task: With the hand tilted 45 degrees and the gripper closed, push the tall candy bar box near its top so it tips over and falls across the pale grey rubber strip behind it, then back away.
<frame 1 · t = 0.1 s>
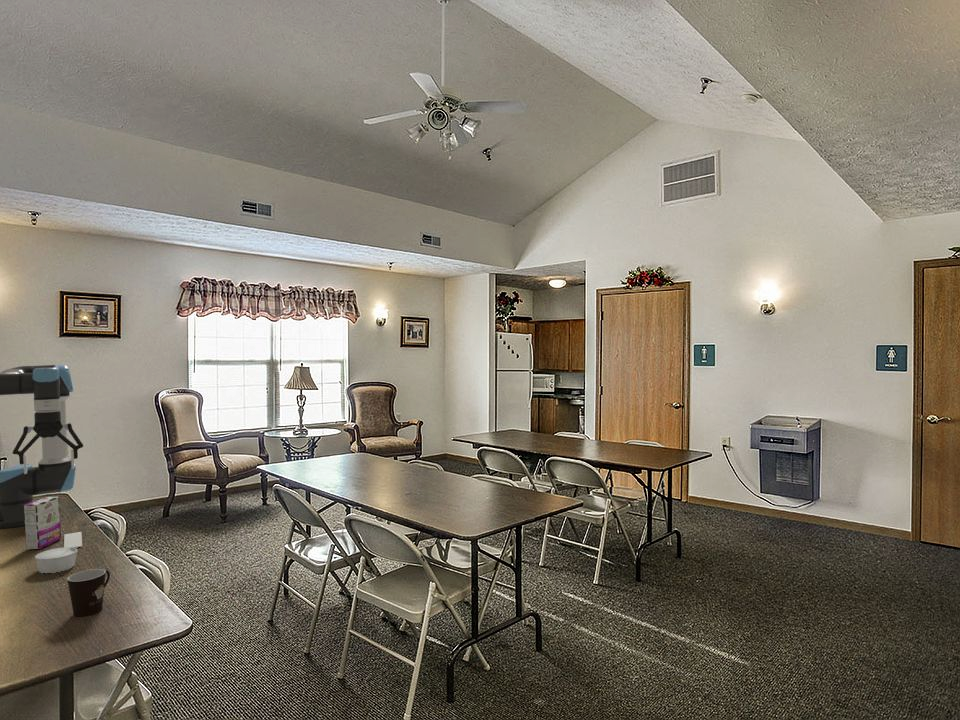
hand: (49, 470, 209), 28 cm above the table, tool pointing down, fingers open, 13 cm apart
ramekin: (57, 569, 191), on the table
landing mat: (73, 541, 218), on the table
candy bar box: (43, 545, 214), on the table
coffee mug: (94, 610, 160), on the table
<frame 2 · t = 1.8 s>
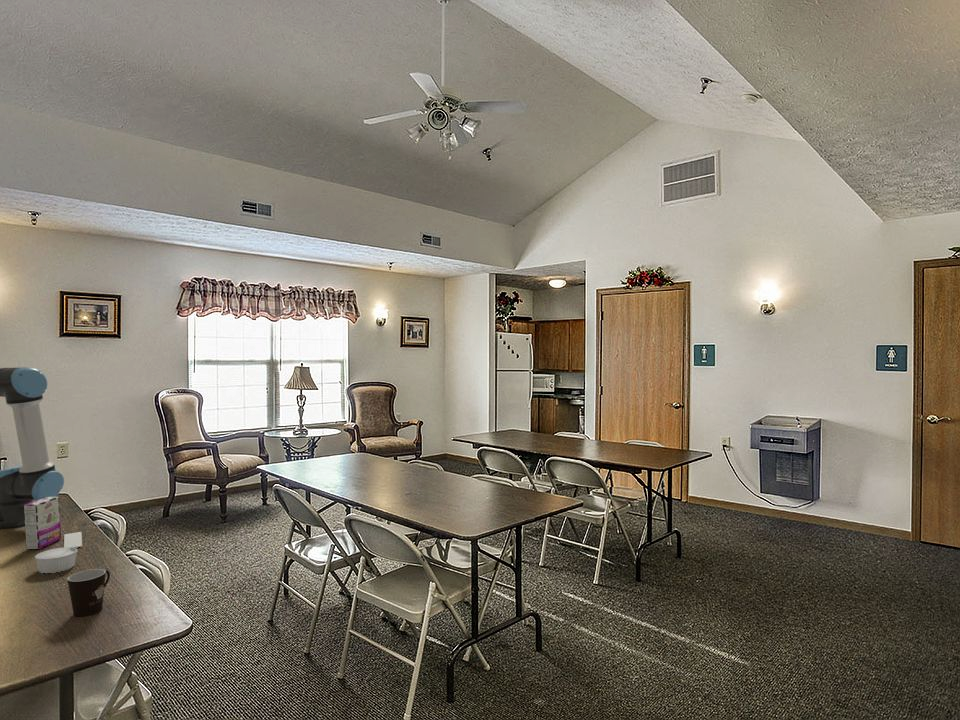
nothing on the table moved.
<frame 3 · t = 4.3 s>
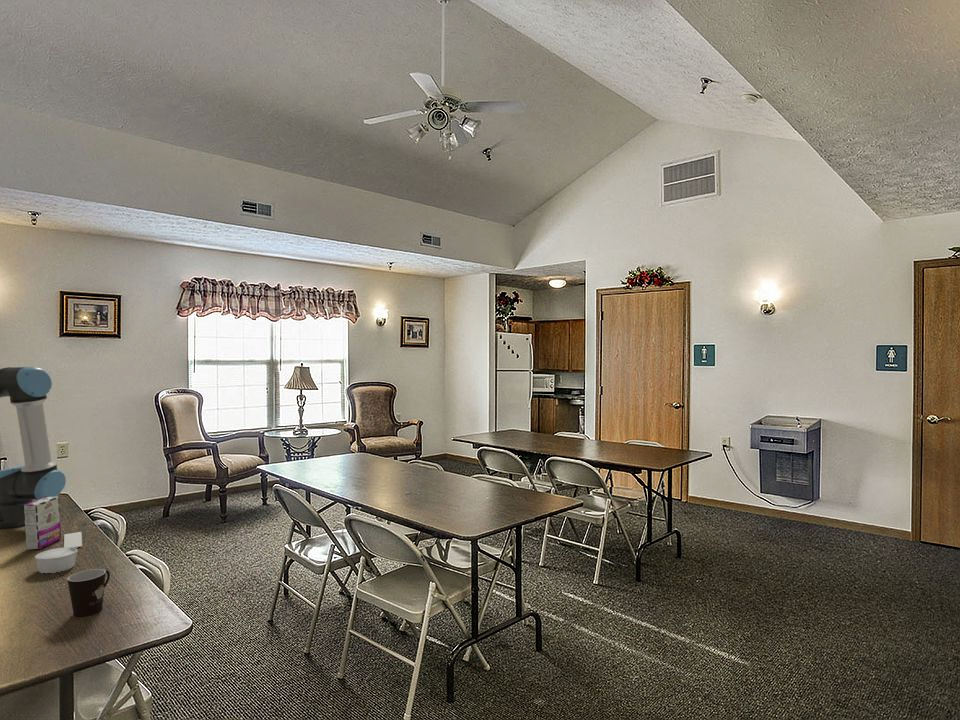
nothing on the table moved.
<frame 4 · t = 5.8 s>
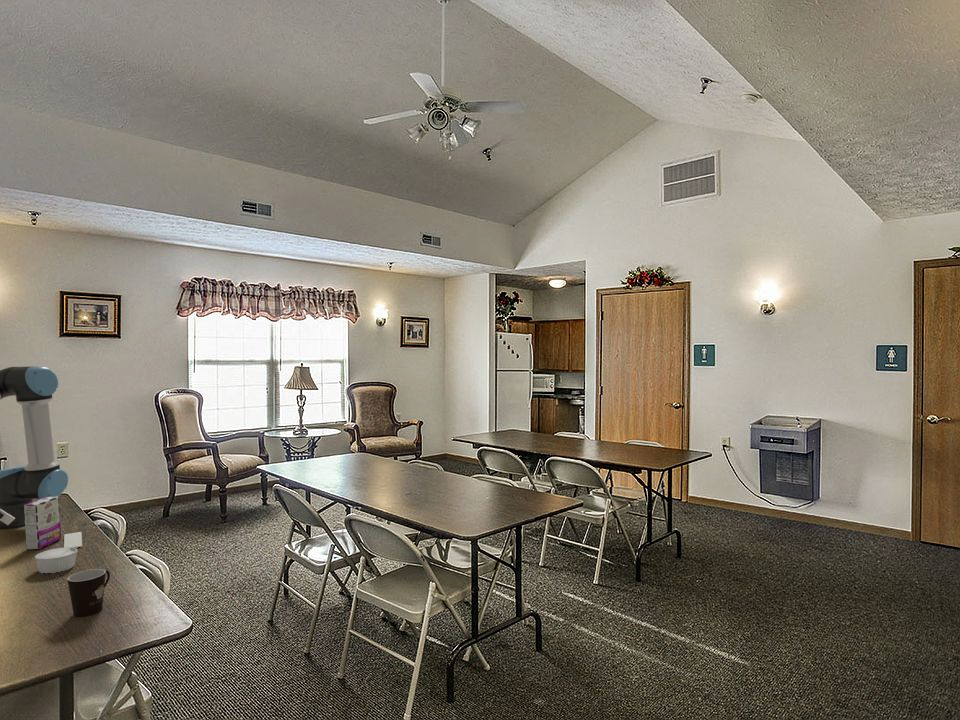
hand: (11, 521, 209), 10 cm above the table, tool tilted 45°, fingers closed
nothing on the table moved.
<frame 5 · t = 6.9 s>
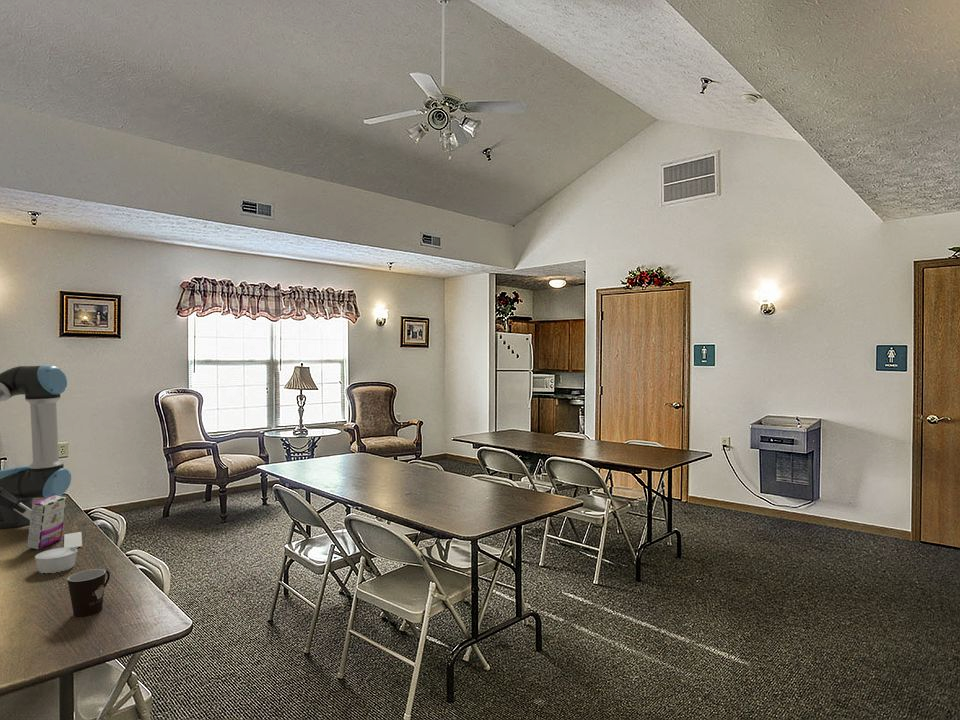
hand: (33, 516, 212), 11 cm above the table, tool tilted 45°, fingers closed
candy bar box: (43, 544, 214), on the table, touching gripper
everything else where it was.
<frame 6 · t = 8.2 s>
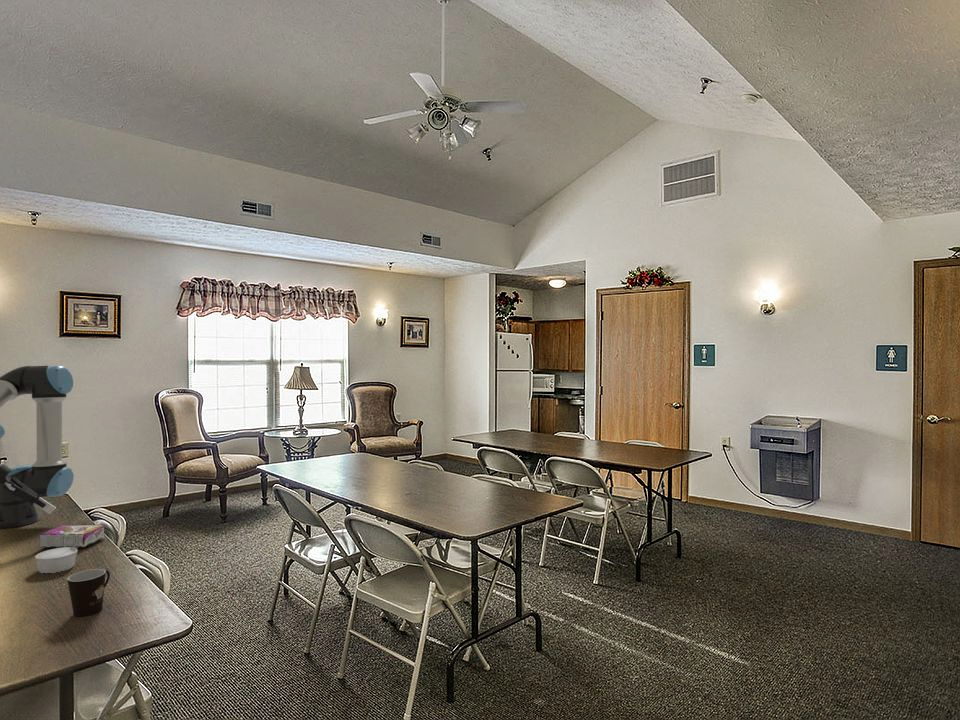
hand: (52, 510, 216), 12 cm above the table, tool tilted 45°, fingers closed
candy bar box: (50, 535, 215), point 3 cm above the table, touching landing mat
everything else where it was.
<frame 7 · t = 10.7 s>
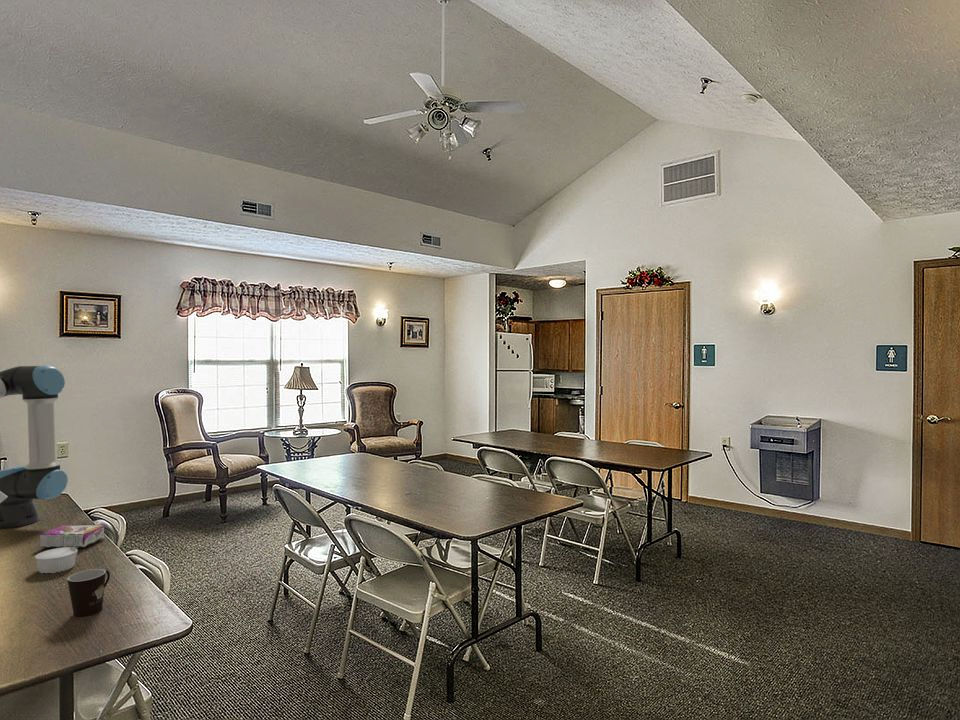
hand: (4, 499, 209), 18 cm above the table, tool tilted 45°, fingers closed
nothing on the table moved.
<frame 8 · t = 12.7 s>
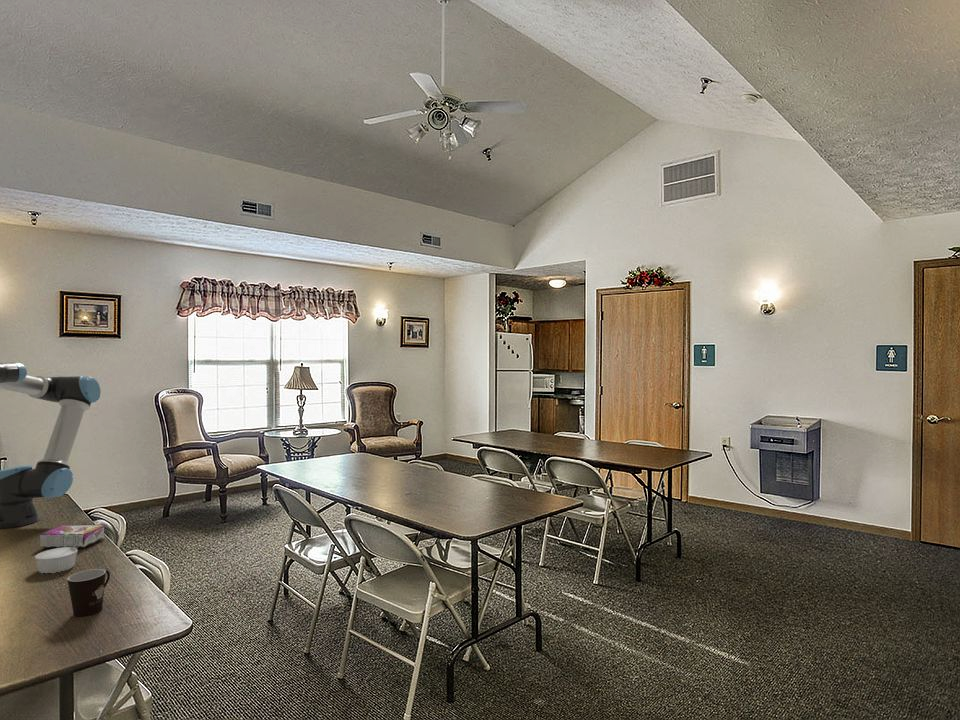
nothing on the table moved.
at the end: candy bar box tilted 91°; candy bar box touching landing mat; candy bar box inside the target area (6.4 cm from its centre), point 3.1 cm above the table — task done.
